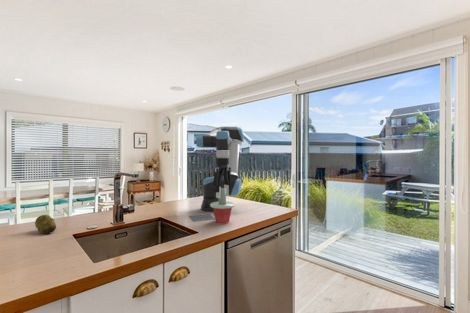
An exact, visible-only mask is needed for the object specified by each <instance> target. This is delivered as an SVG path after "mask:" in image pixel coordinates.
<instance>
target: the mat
mask: <svg viewBox="0 0 470 313" xmlns="http://www.w3.org/2000/svg"><path fill="white" fill-rule="evenodd" d="M188 217H189V219H190V220H191V222H203V221H204V222H205V221H213V220H214V221H216V220H215V216H213V215H212V214H210V213H205V214H195V215H188Z"/></svg>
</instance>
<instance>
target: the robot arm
mask: <svg viewBox="0 0 470 313" xmlns="http://www.w3.org/2000/svg"><path fill="white" fill-rule="evenodd" d="M244 140H245V139H244V131H243V127H242V126H237V125H236V126H220V127H216V128H213V129H212V130H211V131H210V132H209V133H207V134H205V135H202V134H201V135H197V136H196V139H195V144H196V148H204V149H205V148H214V149H215V148H216V149H215V152H216V155H215V156H216V159H215V164H216V165H217V166H216V167H215V168H213V172H214V173H213V176H211V177H210V176H209V177H206V178H204V179H203V184H202V186H203V188H202V189H203V191H202V194H203V195H202V196H203V197H202V198H203V199H202V202H201V205H200V210H201V211H202V212H209V213H210V212H213V213H214V209H213V208H212V207H210V204H211V203H213V202H219V198H221V188H226V197H229V196H232V197H233V196H238V195H240V193H241V189H242V179H241V178H240V176H239V173H238V172H239V160H240V159H239V157H240V156H239V155H240V146H241V145H242V143H244Z"/></svg>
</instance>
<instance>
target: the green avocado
mask: <svg viewBox="0 0 470 313" xmlns="http://www.w3.org/2000/svg"><path fill="white" fill-rule="evenodd" d="M34 225H35V228H36V229H37V231H38V232H39V233H40V232H41V233H40V234H45V233H46V234H51V233H50V232H52V233H53V232H55V230H56V229H57V225H56V221H55V219H54V218H53V217H51V216H50V215H48V214H42V215H39V216H38V217H37V218H36V219H35V222H34Z"/></svg>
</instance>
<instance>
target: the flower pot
mask: <svg viewBox="0 0 470 313" xmlns="http://www.w3.org/2000/svg"><path fill="white" fill-rule="evenodd" d="M232 208H233V207H232ZM232 208H227V209H217V208H213V209H214V212H213V215H214V218H215V220H214V221H215V223H216V224H219V225H220V224H221V225H222V224H228V223H230V219H231V214H232Z"/></svg>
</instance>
